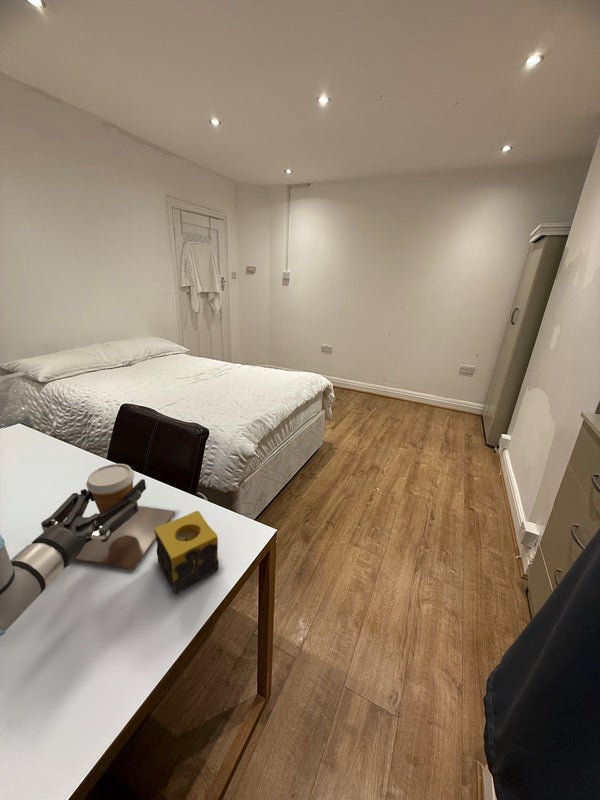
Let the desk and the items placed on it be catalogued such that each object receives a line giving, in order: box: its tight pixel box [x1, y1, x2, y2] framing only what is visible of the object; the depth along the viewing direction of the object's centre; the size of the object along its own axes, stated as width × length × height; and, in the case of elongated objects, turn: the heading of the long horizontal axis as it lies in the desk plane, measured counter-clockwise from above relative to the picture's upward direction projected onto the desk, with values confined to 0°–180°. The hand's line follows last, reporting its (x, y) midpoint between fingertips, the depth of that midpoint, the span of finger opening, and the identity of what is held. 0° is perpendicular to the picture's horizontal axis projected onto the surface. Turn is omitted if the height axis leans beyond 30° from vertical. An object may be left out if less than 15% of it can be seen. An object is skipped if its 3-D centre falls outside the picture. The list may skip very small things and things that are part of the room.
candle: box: [154, 510, 220, 595], centre depth 69 cm, size 10×10×10 cm
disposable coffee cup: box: [85, 463, 135, 522], centre depth 74 cm, size 10×10×12 cm
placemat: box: [72, 505, 176, 571], centre depth 78 cm, size 18×18×1 cm
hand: (127, 481), depth 78 cm, fingers closed on disposable coffee cup, 8 cm apart
